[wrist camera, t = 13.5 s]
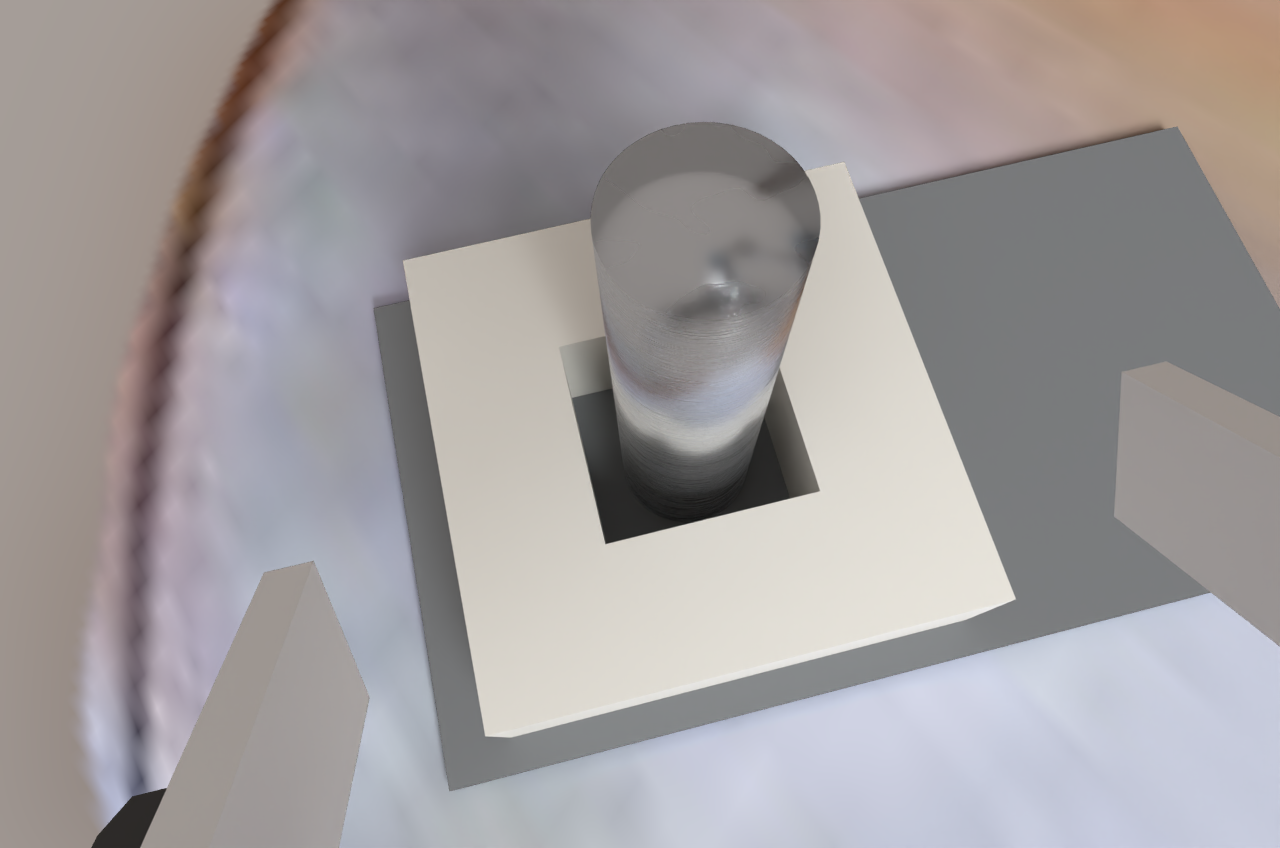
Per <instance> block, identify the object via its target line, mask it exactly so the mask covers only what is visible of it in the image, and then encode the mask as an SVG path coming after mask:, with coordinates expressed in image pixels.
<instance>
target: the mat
mask: <svg viewBox="0 0 1280 848" xmlns="http://www.w3.org/2000/svg"><path fill="white" fill-rule="evenodd" d="M859 201H860V203H861V206H862V208H863V211H864V213H865V216H866V218H867V221H868V223H869V226H870V229H871V231H872V234H873V236H874V239H875V241H876V244H877V246H878V249H879V251H880V254H881V257H882V259H883V262H884V264H885V267H886V269H887V272H888V274H889V277H890V280H891V282H892V285H893V287H894V290H895V292H896V295H897V297H898V300H899V302H900V305H901V308H902V310H903V313H904V315H905V318H906V320H907V323H908V325H909V328H910V330H911V333H912V336H913V338H914V341H915V343H916V346H917V348H918V351H919V353H920V356H921V358H922V361H923V364H924V366H925V369H926V371H927V374H928V376H929V379H930V381H931V384H932V387H933V389H934V392H935V394H936V397H937V399H938V402H939V404H940V407H941V409H942V412H943V415H944V417H945V420H946V422H947V425H948V427H949V430H950V432H951V435H952V437H953V440H954V443H955V445H956V448H957V450H958V453H959V455H960V458H961V460H962V463H963V465H964V468H965V471H966V473H967V476H968V478H969V481H970V483H971V486H972V488H973V491H974V494H975V496H976V499H977V501H978V504H979V506H980V509H981V511H982V514H983V516H984V519H985V522H986V524H987V527H988V529H989V532H990V534H991V537H992V539H993V542H994V544H995V547H996V550H997V552H998V555H999V557H1000V560H1001V562H1002V565H1003V567H1004V570H1005V573H1006V575H1007V578H1008V580H1009V583H1010V585H1011V588H1012V590H1013V593H1014V595H1015V598H1016V599H1015V600H1013V601H1011V602H1008V603H1006V604H1003V605H1001V606H998V607H996V608H994V609H991V610H989V611H986V612H984V613H981V614H979V615H977V616H974V617H972V618H969V619H967V620H964V621H960V622H956V623H952V624H948V625H944V626H940V627H937V628H933V629H929V630H925V631H921V632H917V633H913V634H910V635H906V636H902V637H898V638H894V639H890V640H886V641H883V642H879V643H875V644H871V645H867V646H863V647H859V648H856V649H852V650H848V651H844V652H840V653H836V654H832V655H828V656H825V657H821V658H817V659H813V660H809V661H805V662H801V663H798V664H794V665H790V666H786V667H782V668H778V669H774V670H771V671H767V672H763V673H759V674H755V675H751V676H747V677H743V678H740V679H736V680H732V681H728V682H724V683H720V684H716V685H713V686H709V687H705V688H701V689H697V690H693V691H689V692H686V693H682V694H678V695H674V696H670V697H666V698H662V699H658V700H655V701H651V702H647V703H643V704H639V705H635V706H631V707H628V708H624V709H620V710H616V711H612V712H608V713H604V714H601V715H597V716H593V717H589V718H585V719H581V720H577V721H573V722H570V723H566V724H562V725H558V726H554V727H550V728H546V729H543V730H539V731H535V732H531V733H527V734H523V735H519V736H516V737H512V738H508V737H489V736H485V732H484V726H483V720H482V714H481V709H480V703H479V697H478V691H477V686H476V680H475V674H474V668H473V663H472V657H471V651H470V645H469V640H468V634H467V628H466V622H465V617H464V611H463V605H462V599H461V593H460V588H459V582H458V576H457V570H456V565H455V559H454V553H453V547H452V542H451V536H450V530H449V524H448V519H447V513H446V507H445V501H444V496H443V490H442V484H441V478H440V472H439V467H438V461H437V455H436V449H435V444H434V438H433V432H432V426H431V421H430V415H429V409H428V403H427V398H426V392H425V386H424V380H423V375H422V369H421V363H420V357H419V351H418V346H417V340H416V334H415V328H414V323H413V317H412V311H411V305H410V300H409V301H404V302H400V303H395V304H391V305H387V306H382V307H378V308H374V314H375V320H376V327H377V333H378V339H379V346H380V352H381V358H382V365H383V371H384V378H385V384H386V390H387V397H388V403H389V409H390V416H391V422H392V429H393V435H394V441H395V448H396V454H397V460H398V467H399V473H400V480H401V486H402V492H403V499H404V505H405V511H406V518H407V524H408V531H409V537H410V543H411V550H412V556H413V562H414V569H415V575H416V582H417V588H418V594H419V601H420V607H421V613H422V620H423V626H424V633H425V639H426V645H427V652H428V658H429V664H430V671H431V677H432V684H433V690H434V696H435V703H436V709H437V715H438V722H439V728H440V735H441V741H442V747H443V754H444V760H445V766H446V773H447V779H448V785H449V791H453V790H457V789H461V788H465V787H468V786H472V785H476V784H480V783H484V782H487V781H491V780H495V779H499V778H503V777H507V776H510V775H514V774H518V773H522V772H526V771H530V770H533V769H537V768H541V767H545V766H549V765H552V764H556V763H560V762H564V761H568V760H572V759H575V758H579V757H583V756H587V755H591V754H595V753H598V752H602V751H606V750H610V749H614V748H617V747H621V746H625V745H629V744H633V743H637V742H640V741H644V740H648V739H652V738H656V737H660V736H663V735H667V734H671V733H675V732H679V731H682V730H686V729H690V728H694V727H698V726H702V725H705V724H709V723H713V722H717V721H721V720H725V719H728V718H732V717H736V716H740V715H744V714H747V713H751V712H755V711H759V710H763V709H767V708H770V707H774V706H778V705H782V704H786V703H790V702H793V701H797V700H801V699H805V698H809V697H813V696H816V695H820V694H824V693H828V692H832V691H835V690H839V689H843V688H847V687H851V686H855V685H858V684H862V683H866V682H870V681H874V680H878V679H881V678H885V677H889V676H893V675H897V674H900V673H904V672H908V671H912V670H916V669H920V668H923V667H927V666H931V665H935V664H939V663H943V662H946V661H950V660H954V659H958V658H962V657H965V656H969V655H973V654H977V653H981V652H985V651H988V650H992V649H996V648H1000V647H1004V646H1008V645H1011V644H1015V643H1019V642H1023V641H1027V640H1030V639H1034V638H1038V637H1042V636H1046V635H1050V634H1053V633H1057V632H1061V631H1065V630H1069V629H1073V628H1076V627H1080V626H1084V625H1088V624H1092V623H1095V622H1099V621H1103V620H1107V619H1111V618H1115V617H1118V616H1122V615H1126V614H1130V613H1134V612H1138V611H1141V610H1145V609H1149V608H1153V607H1157V606H1160V605H1164V604H1168V603H1172V602H1176V601H1180V600H1183V599H1187V598H1191V597H1195V596H1199V595H1203V594H1206V593H1210V591H1208V590H1207V589H1206V588H1205V587H1203V586H1202V585H1201V584H1200V583H1198V582H1197V581H1196V580H1194V579H1193V578H1192V577H1191V576H1189V575H1188V574H1187V573H1186V572H1184V571H1183V570H1182V569H1180V568H1179V567H1178V566H1177V565H1175V564H1174V563H1173V562H1172V561H1170V560H1169V559H1168V558H1166V557H1165V556H1164V555H1163V554H1161V553H1160V552H1159V551H1158V550H1156V549H1155V548H1154V547H1152V546H1151V545H1150V544H1149V543H1147V542H1146V541H1145V540H1144V539H1142V538H1141V537H1140V536H1138V535H1137V534H1136V533H1135V532H1133V531H1132V530H1131V529H1129V528H1128V527H1127V526H1126V525H1124V524H1123V523H1122V522H1121V521H1119V520H1118V519H1117V518H1115V517H1114V509H1115V490H1116V471H1117V452H1118V432H1119V413H1120V394H1121V374H1122V372H1123V371H1128V370H1132V369H1136V368H1140V367H1145V366H1149V365H1153V364H1158V363H1162V362H1166V361H1167V362H1169V363H1171V364H1173V365H1175V366H1177V367H1179V368H1181V369H1183V370H1185V371H1187V372H1189V373H1191V374H1193V375H1195V376H1197V377H1199V378H1201V379H1203V380H1205V381H1207V382H1210V383H1212V384H1214V385H1216V386H1218V387H1220V388H1222V389H1224V390H1226V391H1228V392H1230V393H1232V394H1234V395H1236V396H1238V397H1240V398H1242V399H1244V400H1246V401H1248V402H1250V403H1252V404H1254V405H1257V406H1259V407H1261V408H1263V409H1265V410H1267V411H1269V412H1271V413H1273V414H1275V415H1277V416H1279V417H1280V309H1279V307H1278V305H1277V303H1276V302H1275V300H1274V298H1273V296H1272V295H1271V293H1270V291H1269V289H1268V287H1267V286H1266V284H1265V282H1264V280H1263V278H1262V277H1261V275H1260V273H1259V271H1258V270H1257V268H1256V266H1255V264H1254V262H1253V261H1252V259H1251V257H1250V255H1249V253H1248V252H1247V250H1246V248H1245V246H1244V245H1243V243H1242V241H1241V239H1240V237H1239V236H1238V234H1237V232H1236V230H1235V229H1234V227H1233V225H1232V223H1231V221H1230V220H1229V218H1228V216H1227V214H1226V212H1225V211H1224V209H1223V207H1222V205H1221V204H1220V202H1219V200H1218V198H1217V196H1216V195H1215V193H1214V191H1213V189H1212V188H1211V186H1210V184H1209V182H1208V180H1207V179H1206V177H1205V175H1204V173H1203V171H1202V170H1201V168H1200V166H1199V164H1198V163H1197V161H1196V159H1195V157H1194V155H1193V154H1192V152H1191V150H1190V148H1189V147H1188V145H1187V143H1186V141H1185V139H1184V138H1183V136H1182V134H1181V132H1180V130H1179V129H1178V127H1173V128H1169V129H1164V130H1160V131H1155V132H1151V133H1146V134H1142V135H1138V136H1133V137H1129V138H1124V139H1120V140H1116V141H1111V142H1107V143H1102V144H1098V145H1093V146H1089V147H1085V148H1080V149H1076V150H1071V151H1067V152H1063V153H1058V154H1054V155H1049V156H1045V157H1040V158H1036V159H1032V160H1027V161H1023V162H1018V163H1014V164H1010V165H1005V166H1001V167H996V168H992V169H987V170H983V171H979V172H974V173H970V174H965V175H961V176H957V177H952V178H948V179H943V180H939V181H934V182H930V183H926V184H921V185H917V186H912V187H908V188H903V189H899V190H895V191H890V192H886V193H881V194H877V195H873V196H868V197H864V198H859ZM572 400H573V404H574V408H575V413H576V417H577V421H578V425H579V429H580V434H581V438H582V442H583V446H584V451H585V455H586V459H587V463H588V468H589V472H590V476H591V480H592V485H593V489H594V493H595V497H596V502H597V506H598V510H599V514H600V518H601V523H602V527H603V531H604V535H605V540H606V544H608V543H613V542H617V541H621V540H625V539H629V538H633V537H637V536H641V535H645V534H649V533H653V532H657V531H661V530H665V529H669V528H673V527H677V526H681V525H685V524H689V523H694V522H698V521H702V520H698V521H690V522H682V521H674V520H669V519H666V518H663V517H660V516H658V515H656V514H654V513H653V512H651V511H650V510H648V509H647V508H646V507H644V506H643V505H642V504H641V503H640V502H639V501H638V500H637V499H636V497H635V496H634V494H633V493H632V491H631V490H630V488H629V486H628V483H627V480H626V477H625V473H624V467H623V460H622V452H621V445H620V438H619V431H618V423H617V416H616V409H615V402H614V394H613V388H612V389H608V390H604V391H599V392H595V393H591V394H587V395H582V396H578V397H574V398H572ZM787 499H790V496H789V493H788V490H787V487H786V484H785V481H784V477H783V474H782V471H781V468H780V465H779V462H778V458H777V455H776V452H775V449H774V446H773V443H772V439H771V436H770V433H769V430H768V427H767V424H766V420H765V417H764V419H763V422H762V425H761V428H760V432H759V435H758V438H757V441H756V444H755V448H754V451H753V454H752V457H751V461H750V464H749V467H748V470H747V473H746V477H745V480H744V483H743V485H742V488H741V490H740V492H739V493H738V495H737V496H736V498H735V499H734V500H733V501H732V502H731V503H730V504H729V505H728V506H727V507H726V508H725V509H723V510H722V511H720V512H719V513H717V514H715V515H713V516H711V517H709V518H706V519H710V518H714V517H718V516H722V515H726V514H730V513H734V512H738V511H742V510H746V509H750V508H754V507H758V506H762V505H766V504H771V503H775V502H779V501H783V500H787ZM706 519H703V520H706Z"/></svg>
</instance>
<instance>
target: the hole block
mask: <svg viewBox="0 0 1280 848" xmlns="http://www.w3.org/2000/svg"><path fill="white" fill-rule="evenodd" d="M805 173H806V174H807V176H808V178H809V179H810V181H811V183H812V186H813V188H814V190H815V193H816V196H817V199H818V202H819V209H820V215H821V229H820V235H819V241H818V245H817V248H816V251H815V254H814V258H813V261H812V264H811V267H810V270H809V274H808V277H807V280H806V283H805V287H804V290H803V293H802V296H801V299H800V303H799V306H798V309H797V312H796V316H795V319H794V322H793V325H792V328H791V332H790V335H789V338H788V341H787V345H786V348H785V351H784V354H783V357H782V361H781V364H780V367H779V370H778V374H777V377H776V380H775V383H774V386H773V390H772V393H771V396H770V399H769V403H768V406H767V409H766V412H765V415H764V417H765V420H766V424H767V427H768V430H769V433H770V436H771V439H772V443H773V446H774V449H775V452H776V455H777V458H778V462H779V465H780V468H781V471H782V474H783V477H784V481H785V484H786V487H787V490H788V493H789V496H790V499H787V500H783V501H779V502H775V503H771V504H766V505H762V506H758V507H754V508H750V509H746V510H742V511H738V512H734V513H730V514H726V515H722V516H718V517H714V518H710V519H706V520H702V521H698V522H694V523H689V524H685V525H681V526H677V527H673V528H669V529H665V530H661V531H657V532H653V533H649V534H645V535H641V536H637V537H633V538H629V539H625V540H621V541H617V542H613V543H608V544H606V540H605V535H604V531H603V527H602V523H601V518H600V514H599V510H598V506H597V502H596V497H595V493H594V489H593V485H592V480H591V476H590V472H589V468H588V463H587V459H586V455H585V451H584V446H583V442H582V438H581V434H580V429H579V425H578V421H577V417H576V413H575V408H574V404H573V400H572V398H574V397H578V396H582V395H587V394H591V393H595V392H599V391H604V390H608V389H612V388H613V387H612V380H611V372H610V365H609V358H608V351H607V343H606V336H605V329H604V321H603V314H602V307H601V300H600V292H599V285H598V278H597V271H596V263H595V256H594V249H593V241H592V234H591V220H590V219H587V220H582V221H578V222H573V223H569V224H564V225H560V226H555V227H551V228H546V229H542V230H537V231H533V232H528V233H524V234H519V235H515V236H511V237H506V238H502V239H497V240H493V241H488V242H484V243H479V244H475V245H470V246H466V247H461V248H457V249H452V250H448V251H443V252H439V253H434V254H430V255H425V256H421V257H417V258H412V259H408V260H403V265H404V271H405V277H406V282H407V288H408V294H409V300H410V305H411V311H412V317H413V323H414V328H415V334H416V340H417V346H418V351H419V357H420V363H421V369H422V375H423V380H424V386H425V392H426V398H427V403H428V409H429V415H430V421H431V426H432V432H433V438H434V444H435V449H436V455H437V461H438V467H439V472H440V478H441V484H442V490H443V496H444V501H445V507H446V513H447V519H448V524H449V530H450V536H451V542H452V547H453V553H454V559H455V565H456V570H457V576H458V582H459V588H460V593H461V599H462V605H463V611H464V617H465V622H466V628H467V634H468V640H469V645H470V651H471V657H472V663H473V668H474V674H475V680H476V686H477V691H478V697H479V703H480V709H481V714H482V720H483V726H484V732H485V736H489V737H508V738H512V737H516V736H519V735H523V734H527V733H531V732H535V731H539V730H543V729H546V728H550V727H554V726H558V725H562V724H566V723H570V722H573V721H577V720H581V719H585V718H589V717H593V716H597V715H601V714H604V713H608V712H612V711H616V710H620V709H624V708H628V707H631V706H635V705H639V704H643V703H647V702H651V701H655V700H658V699H662V698H666V697H670V696H674V695H678V694H682V693H686V692H689V691H693V690H697V689H701V688H705V687H709V686H713V685H716V684H720V683H724V682H728V681H732V680H736V679H740V678H743V677H747V676H751V675H755V674H759V673H763V672H767V671H771V670H774V669H778V668H782V667H786V666H790V665H794V664H798V663H801V662H805V661H809V660H813V659H817V658H821V657H825V656H828V655H832V654H836V653H840V652H844V651H848V650H852V649H856V648H859V647H863V646H867V645H871V644H875V643H879V642H883V641H886V640H890V639H894V638H898V637H902V636H906V635H910V634H913V633H917V632H921V631H925V630H929V629H933V628H937V627H940V626H944V625H948V624H952V623H956V622H960V621H964V620H967V619H969V618H972V617H974V616H977V615H979V614H981V613H984V612H986V611H989V610H991V609H994V608H996V607H998V606H1001V605H1003V604H1006V603H1008V602H1011V601H1013V600H1015V599H1016V598H1015V595H1014V593H1013V590H1012V588H1011V585H1010V583H1009V580H1008V578H1007V575H1006V573H1005V570H1004V567H1003V565H1002V562H1001V560H1000V557H999V555H998V552H997V550H996V547H995V544H994V542H993V539H992V537H991V534H990V532H989V529H988V527H987V524H986V522H985V519H984V516H983V514H982V511H981V509H980V506H979V504H978V501H977V499H976V496H975V494H974V491H973V488H972V486H971V483H970V481H969V478H968V476H967V473H966V471H965V468H964V465H963V463H962V460H961V458H960V455H959V453H958V450H957V448H956V445H955V443H954V440H953V437H952V435H951V432H950V430H949V427H948V425H947V422H946V420H945V417H944V415H943V412H942V409H941V407H940V404H939V402H938V399H937V397H936V394H935V392H934V389H933V387H932V384H931V381H930V379H929V376H928V374H927V371H926V369H925V366H924V364H923V361H922V358H921V356H920V353H919V351H918V348H917V346H916V343H915V341H914V338H913V336H912V333H911V330H910V328H909V325H908V323H907V320H906V318H905V315H904V313H903V310H902V308H901V305H900V302H899V300H898V297H897V295H896V292H895V290H894V287H893V285H892V282H891V280H890V277H889V274H888V272H887V269H886V267H885V264H884V262H883V259H882V257H881V254H880V251H879V249H878V246H877V244H876V241H875V239H874V236H873V234H872V231H871V229H870V226H869V223H868V221H867V218H866V216H865V213H864V211H863V208H862V206H861V203H860V201H859V198H858V195H857V193H856V190H855V188H854V185H853V183H852V180H851V178H850V175H849V172H848V170H847V167H846V165H845V162H842V163H837V164H833V165H828V166H824V167H819V168H815V169H810V170H806V171H805Z"/></svg>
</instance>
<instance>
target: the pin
mask: <svg viewBox="0 0 1280 848" xmlns="http://www.w3.org/2000/svg"><path fill="white" fill-rule="evenodd" d="M590 220H591V234H592V241H593V249H594V256H595V263H596V271H597V278H598V285H599V292H600V300H601V307H602V314H603V321H604V329H605V336H606V343H607V351H608V358H609V365H610V372H611V380H612V387H613V394H614V402H615V409H616V416H617V423H618V431H619V438H620V445H621V452H622V460H623V467H624V473H625V477H626V480H627V483H628V486H629V488H630V490H631V491H632V493H633V494H634V496H635V497H636V499H637V500H638V501H639V502H640V503H641V504H642V505H643V506H644V507H646V508H647V509H648V510H650V511H651V512H653V513H654V514H656V515H658V516H660V517H663V518H666V519H669V520H674V521H682V522H690V521H698V520H703V519H706V518H709V517H711V516H713V515H715V514H717V513H719V512H720V511H722V510H723V509H725V508H726V507H727V506H728V505H729V504H730V503H731V502H732V501H733V500H734V499H735V498H736V496H737V495H738V493H739V492H740V490H741V488H742V485H743V483H744V480H745V477H746V473H747V470H748V467H749V464H750V461H751V457H752V454H753V451H754V448H755V444H756V441H757V438H758V435H759V432H760V428H761V425H762V422H763V419H764V415H765V412H766V409H767V406H768V403H769V399H770V396H771V393H772V390H773V386H774V383H775V380H776V377H777V374H778V370H779V367H780V364H781V361H782V357H783V354H784V351H785V348H786V345H787V341H788V338H789V335H790V332H791V328H792V325H793V322H794V319H795V316H796V312H797V309H798V306H799V303H800V299H801V296H802V293H803V290H804V287H805V283H806V280H807V277H808V274H809V270H810V267H811V264H812V261H813V258H814V254H815V251H816V248H817V245H818V241H819V235H820V229H821V215H820V209H819V202H818V199H817V196H816V193H815V190H814V188H813V186H812V183H811V181H810V179H809V178H808V176H807V174H806V173H805V171H804V170H803V168H802V167H801V166H800V165H799V164H798V162H797V161H796V160H795V159H794V158H793V157H792V156H791V155H790V154H789V153H788V152H786V151H785V150H784V149H783V148H782V147H780V146H779V145H777V144H776V143H774V142H773V141H772V140H770V139H768V138H766V137H764V136H762V135H760V134H758V133H756V132H753V131H750V130H748V129H745V128H741V127H738V126H734V125H729V124H722V123H712V122H697V123H686V124H680V125H674V126H671V127H668V128H664V129H661V130H658V131H656V132H654V133H651V134H649V135H647V136H645V137H643V138H641V139H640V140H638V141H636V142H635V143H633V144H632V145H631V146H629V147H628V148H626V149H625V150H624V151H623V152H622V153H621V154H620V155H619V156H618V157H617V158H615V160H614V161H613V162H612V163H611V165H610V166H609V167H608V168H607V170H606V171H605V173H604V175H603V176H602V178H601V179H600V181H599V184H598V186H597V189H596V191H595V194H594V198H593V202H592V207H591V216H590Z"/></svg>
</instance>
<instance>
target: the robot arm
mask: <svg viewBox="0 0 1280 848" xmlns="http://www.w3.org/2000/svg"><path fill="white" fill-rule="evenodd" d="M1114 517H1115V518H1117V519H1118V520H1119V521H1121V522H1122V523H1123V524H1124V525H1126V526H1127V527H1128V528H1129V529H1131V530H1132V531H1133V532H1135V533H1136V534H1137V535H1138V536H1140V537H1141V538H1142V539H1144V540H1145V541H1146V542H1147V543H1149V544H1150V545H1151V546H1152V547H1154V548H1155V549H1156V550H1158V551H1159V552H1160V553H1161V554H1163V555H1164V556H1165V557H1166V558H1168V559H1169V560H1170V561H1172V562H1173V563H1174V564H1175V565H1177V566H1178V567H1179V568H1180V569H1182V570H1183V571H1184V572H1186V573H1187V574H1188V575H1189V576H1191V577H1192V578H1193V579H1194V580H1196V581H1197V582H1198V583H1200V584H1201V585H1202V586H1203V587H1205V588H1206V589H1207V590H1208V591H1210V592H1211V593H1212V594H1214V595H1215V596H1216V597H1217V598H1219V599H1220V600H1221V601H1222V602H1224V603H1225V604H1226V605H1228V606H1229V607H1230V608H1231V609H1233V610H1234V611H1235V612H1236V613H1238V614H1239V615H1240V616H1242V617H1243V618H1244V619H1245V620H1247V621H1248V622H1249V623H1250V624H1252V625H1253V626H1254V627H1256V628H1257V629H1258V630H1259V631H1261V632H1262V633H1263V634H1264V635H1266V636H1267V637H1268V638H1270V639H1271V640H1272V641H1273V642H1275V643H1276V644H1277V645H1278V646H1280V417H1279V416H1277V415H1275V414H1273V413H1271V412H1269V411H1267V410H1265V409H1263V408H1261V407H1259V406H1257V405H1254V404H1252V403H1250V402H1248V401H1246V400H1244V399H1242V398H1240V397H1238V396H1236V395H1234V394H1232V393H1230V392H1228V391H1226V390H1224V389H1222V388H1220V387H1218V386H1216V385H1214V384H1212V383H1210V382H1207V381H1205V380H1203V379H1201V378H1199V377H1197V376H1195V375H1193V374H1191V373H1189V372H1187V371H1185V370H1183V369H1181V368H1179V367H1177V366H1175V365H1173V364H1171V363H1169V362H1167V361H1166V362H1162V363H1158V364H1153V365H1149V366H1145V367H1140V368H1136V369H1132V370H1128V371H1123V372H1122V374H1121V394H1120V413H1119V432H1118V452H1117V471H1116V490H1115V509H1114ZM369 698H370V697H369V695H368V692H367V690H366V687H365V685H364V682H363V680H362V677H361V675H360V673H359V670H358V668H357V665H356V663H355V660H354V658H353V656H352V653H351V651H350V648H349V646H348V643H347V641H346V639H345V636H344V634H343V631H342V629H341V626H340V624H339V622H338V619H337V617H336V614H335V612H334V609H333V607H332V605H331V602H330V600H329V597H328V595H327V592H326V590H325V587H324V585H323V583H322V580H321V578H320V575H319V573H318V570H317V568H316V566H315V563H314V561H312V562H307V563H303V564H299V565H294V566H290V567H286V568H282V569H277V570H273V571H269V572H265V573H264V574H263V576H262V578H261V580H260V583H259V585H258V587H257V589H256V591H255V594H254V596H253V598H252V600H251V603H250V605H249V607H248V609H247V611H246V614H245V616H244V618H243V620H242V623H241V625H240V627H239V629H238V631H237V634H236V636H235V638H234V640H233V643H232V645H231V647H230V649H229V651H228V654H227V656H226V658H225V660H224V663H223V665H222V667H221V669H220V671H219V674H218V676H217V678H216V680H215V683H214V685H213V687H212V689H211V692H210V694H209V696H208V698H207V700H206V703H205V705H204V707H203V709H202V712H201V714H200V716H199V718H198V720H197V723H196V725H195V727H194V729H193V732H192V734H191V736H190V738H189V740H188V743H187V745H186V747H185V749H184V752H183V754H182V756H181V758H180V760H179V763H178V765H177V767H176V769H175V772H174V774H173V776H172V778H171V780H170V783H169V785H168V787H167V788H165V789H161V790H157V791H153V792H149V793H145V794H140V795H136V796H132V798H131V799H130V800H129V801H128V802H127V803H126V804H125V805H124V807H123V808H122V809H121V810H120V811H119V812H118V813H117V814H116V816H115V817H114V818H113V819H112V820H111V821H110V822H109V823H108V824H107V826H106V827H105V828H104V829H103V830H102V831H101V832H100V833H99V835H98V836H97V838H96V840H95V842H94V844H93V846H92V848H339V845H340V840H341V835H342V830H343V825H344V820H345V815H346V810H347V805H348V801H349V796H350V791H351V786H352V781H353V776H354V771H355V766H356V762H357V757H358V752H359V747H360V742H361V737H362V732H363V727H364V722H365V718H366V713H367V708H368V703H369Z"/></svg>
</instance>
